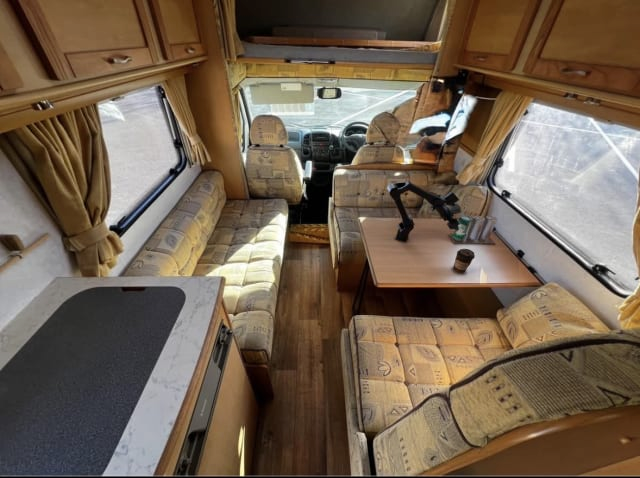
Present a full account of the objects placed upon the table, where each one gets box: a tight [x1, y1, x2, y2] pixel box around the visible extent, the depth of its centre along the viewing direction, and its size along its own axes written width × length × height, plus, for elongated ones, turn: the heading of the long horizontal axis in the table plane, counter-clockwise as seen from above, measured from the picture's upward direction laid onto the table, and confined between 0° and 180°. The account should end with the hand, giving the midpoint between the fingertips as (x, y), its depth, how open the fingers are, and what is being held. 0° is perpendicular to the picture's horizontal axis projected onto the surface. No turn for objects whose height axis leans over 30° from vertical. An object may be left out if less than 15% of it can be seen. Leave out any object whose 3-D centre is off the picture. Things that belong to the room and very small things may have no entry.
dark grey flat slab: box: [448, 233, 496, 246], centre depth 166 cm, size 25×10×1 cm, turn 89°
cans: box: [466, 215, 498, 241], centre depth 161 cm, size 14×6×15 cm, turn 89°
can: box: [452, 214, 473, 241], centre depth 161 cm, size 6×6×15 cm
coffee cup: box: [452, 248, 476, 275], centre depth 138 cm, size 9×8×13 cm
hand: (455, 226), depth 161 cm, fingers open, 9 cm apart
